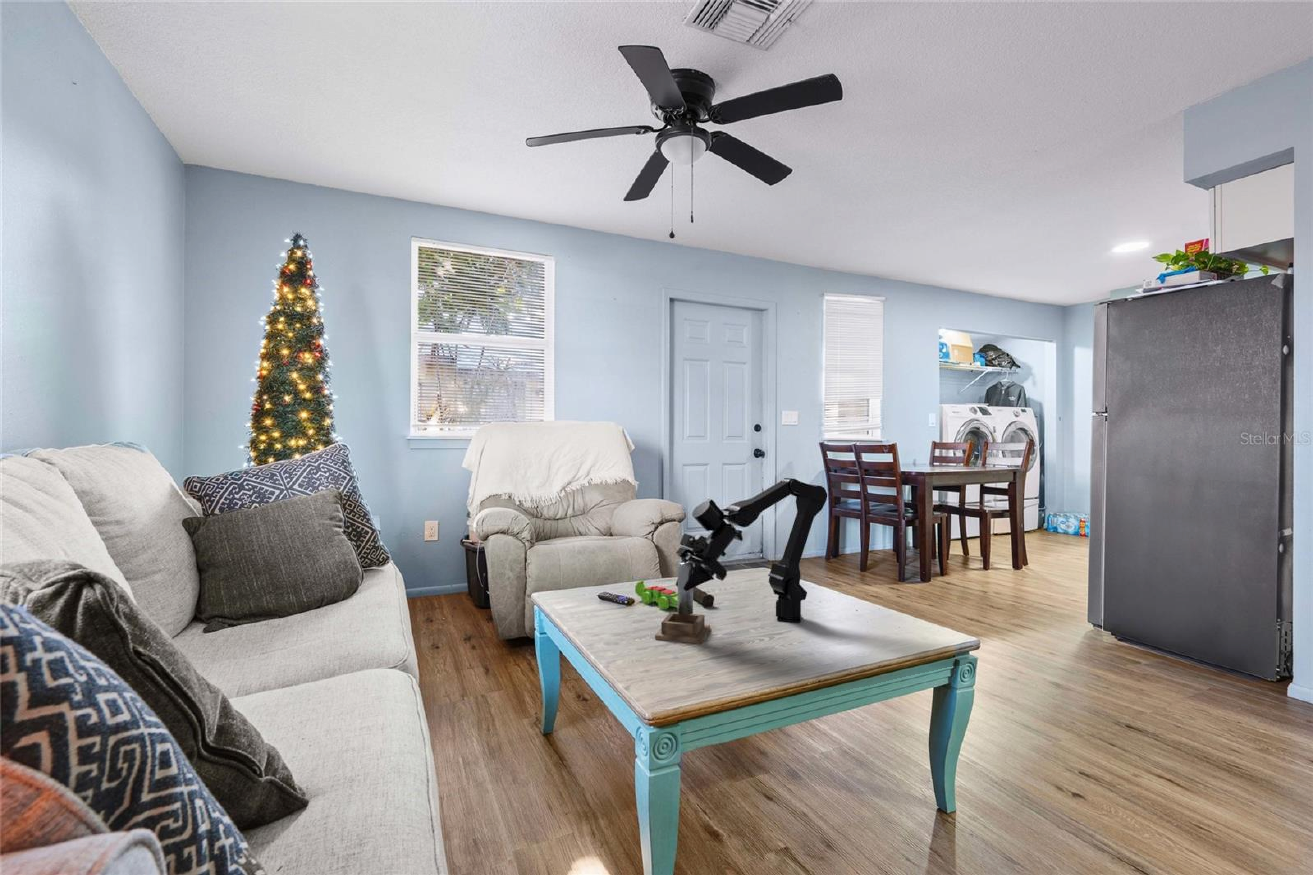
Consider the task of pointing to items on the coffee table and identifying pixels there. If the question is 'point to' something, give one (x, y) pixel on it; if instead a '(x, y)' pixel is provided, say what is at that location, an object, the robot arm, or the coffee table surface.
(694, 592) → the hand tool
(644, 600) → the toy crocodile
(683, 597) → the steel pin
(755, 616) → the coffee table surface
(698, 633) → the walnut box
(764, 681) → the coffee table surface
